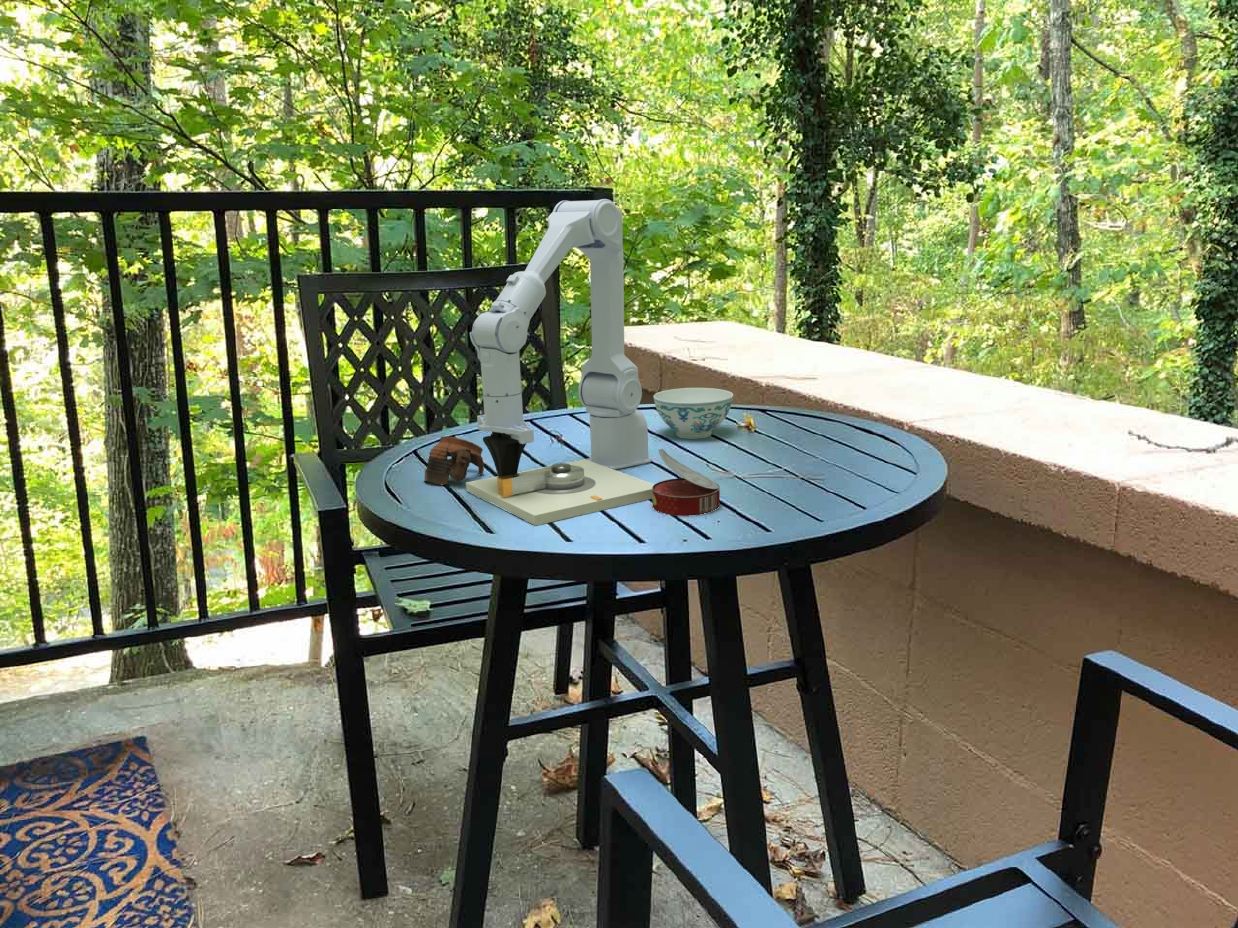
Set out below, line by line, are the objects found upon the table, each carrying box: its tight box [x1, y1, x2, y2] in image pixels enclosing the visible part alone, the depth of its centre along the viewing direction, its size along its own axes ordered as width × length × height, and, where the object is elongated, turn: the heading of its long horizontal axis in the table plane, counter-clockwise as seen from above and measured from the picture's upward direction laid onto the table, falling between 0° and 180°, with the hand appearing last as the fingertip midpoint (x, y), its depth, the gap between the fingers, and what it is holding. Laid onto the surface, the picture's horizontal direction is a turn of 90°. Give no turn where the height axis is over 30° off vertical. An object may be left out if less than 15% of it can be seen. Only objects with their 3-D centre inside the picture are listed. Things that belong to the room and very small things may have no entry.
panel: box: [465, 458, 656, 526], centre depth 152 cm, size 22×22×2 cm
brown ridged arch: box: [424, 435, 485, 485], centre depth 161 cm, size 12×10×8 cm
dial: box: [496, 462, 584, 497], centre depth 149 cm, size 14×7×3 cm, turn 124°
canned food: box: [652, 448, 721, 517], centre depth 144 cm, size 11×10×10 cm
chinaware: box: [653, 387, 734, 440], centre depth 187 cm, size 15×15×8 cm
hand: (507, 481), depth 150 cm, fingers closed
